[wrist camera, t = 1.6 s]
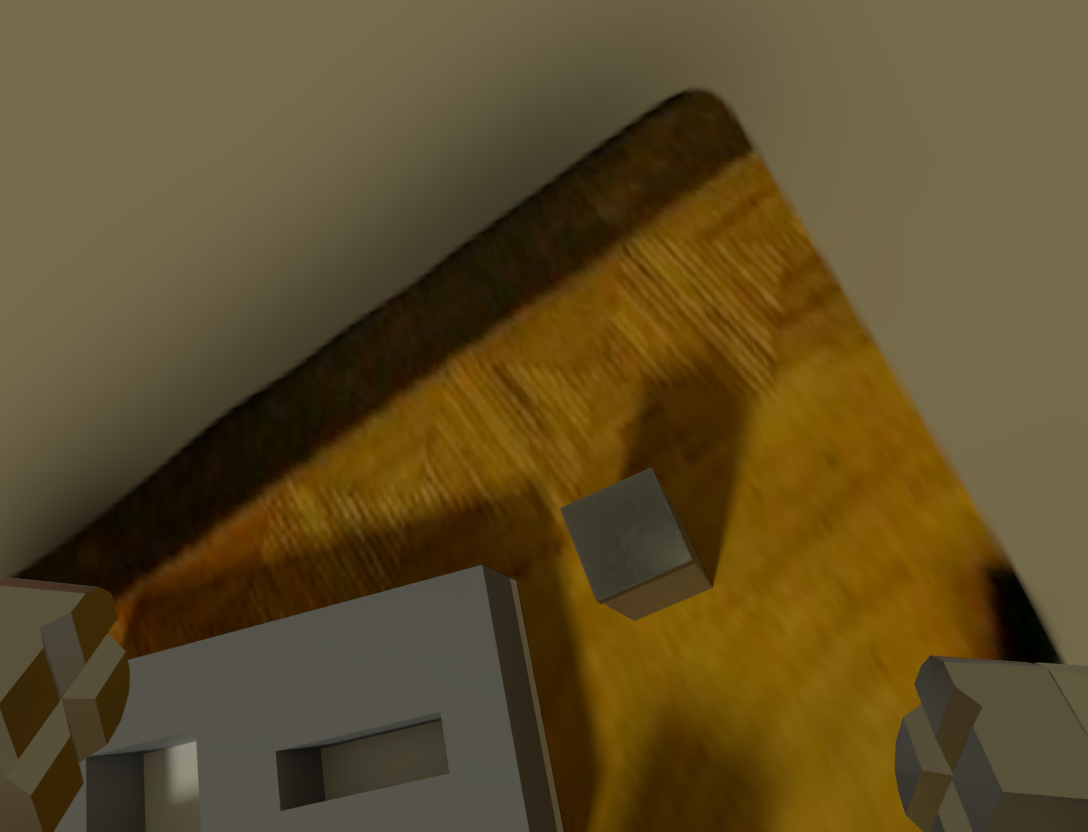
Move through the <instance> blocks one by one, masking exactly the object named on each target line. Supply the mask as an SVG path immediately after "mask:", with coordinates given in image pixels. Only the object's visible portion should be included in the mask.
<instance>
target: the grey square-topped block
mask: <svg viewBox="0 0 1088 832" xmlns="http://www.w3.org/2000/svg"><path fill="white" fill-rule="evenodd" d="M560 509H561V512H562V514H563V517H564V519H565V522H566V524H567V527H568V530H569V532H570V535H571V537H572V540H573V542H574V545H575V547H576V550H577V553H578V555H579V558H580V560H581V563H582V565H583V568H584V571H585V573H586V576H587V578H588V581H589V583H590V586H591V589H592V591H593V594H594V596H595V599H596V601H597V602H598V603H600V604H603V603H604V604H605V605H607V606H609V607H611V608H612V609H614V610H616V611H618V612H619V613H621V614H623V615H625V616H626V617H628V618H630V619H632V620H634V621H636V620H638V619H641V618H643V617H645V616H648V615H650V614H652V613H655V612H657V611H659V610H662V609H664V608H666V607H669V606H671V605H673V604H676V603H678V602H680V601H683V600H685V599H687V598H690V597H692V596H694V595H697V594H699V593H701V592H704V591H706V590H708V589H711V588H712V585H711V583H710V581H709V579H708V577H707V574H706V572H705V570H704V568H703V565H702V563H701V561H700V559H699V556H698V554H697V552H696V550H695V547H694V545H693V543H692V541H691V539H690V536H689V534H688V532H687V530H686V527H685V525H684V523H683V521H682V518H681V516H680V514H679V512H678V510H677V509H676V507H675V505H674V504H673V502H672V501H671V499H670V498H669V496H668V495H667V493H666V491H665V490H664V488H663V487H662V485H661V484H660V482H659V481H658V478H657V476H656V474H655V472H654V470H653V469H652V467H651V468H648V469H646V470H644V471H642V472H640V473H637V474H635V475H633V476H631V477H628V478H626V479H624V480H622V481H620V482H617V483H615V484H613V485H611V486H608V487H606V488H604V489H602V490H600V491H597V492H595V493H593V494H591V495H589V496H586V497H584V498H582V499H580V500H577V501H575V502H573V503H571V504H569V505H566V506H564V507H562V508H560Z"/></svg>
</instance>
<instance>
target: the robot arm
mask: <svg viewBox="0 0 1088 832" xmlns="http://www.w3.org/2000/svg"><path fill="white" fill-rule="evenodd" d="M117 619H118V617H117V614H116V610H115V607H114V603H113V600H112V597H111V593H110V592H108V591H105V590H103V589H101V588H99V587H91V586H82V585H72V584H63V583H54V582H44V581H35V580H25V579H16V578H7V577H4V578H0V832H54V831H55V829H56V827H57V826H58V824H59V823H60V821H61V819H62V818H63V816H64V814H65V813H66V811H67V810H68V808H69V806H70V805H71V803H72V801H73V800H74V798H75V797H76V795H77V793H78V792H79V790H80V788H81V787H82V785H83V784H84V781H83V775H82V770H81V765H80V762H81V761H83V760H84V759H86V758H88V757H89V756H91V755H92V754H94V753H95V752H97V751H98V750H100V749H101V748H103V747H105V746H106V745H107V744H108V742H109V741H110V739H111V737H112V735H113V734H114V732H115V730H116V728H117V727H118V725H119V723H120V722H121V719H122V716H123V712H124V709H125V705H126V702H127V698H128V695H129V688H130V668H129V663H128V659H127V654H126V651H125V650H124V649H123V648H122V647H121V646H120V645H119V644H118V643H117V642H115V641H114V640H113V639H112V638H111V637H110V636H109V635H108V634H107V633H108V632H109V630H110V629H111V627H112V626H113V624H114V623H115V621H116V620H117ZM915 687H916V690H917V692H918V695H919V697H920V700H921V702H922V704H921V705H920V706H918V707H917V708H915V709H914V710H913V711H911V712H910V713H908V714H907V715H905V716H904V717H903V719H902V723H901V726H900V730H899V733H898V736H897V740H896V753H895V773H896V779H897V785H898V791H899V795H900V798H901V801H902V804H903V807H904V811H905V814H906V816H907V817H908V818H909V819H911V820H912V821H913V822H914V823H915V824H916V825H917V826H918V827H919V828H920V829H921V830H922V831H923V832H1088V666H1079V665H1064V664H1049V663H1035V664H1031V663H1025V662H1012V661H998V660H985V659H971V658H958V657H944V656H930V657H929V658H928V659H927V660H926V661H925V662H924V663H923V664H922V666H921V668H920V671H919V674H918V676H917V679H916V682H915Z"/></svg>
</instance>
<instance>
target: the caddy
mask: <svg viewBox="0 0 1088 832" xmlns="http://www.w3.org/2000/svg"><path fill="white" fill-rule="evenodd" d="M128 663H129V668H130V688H129V695H128V698H127V702H126V705H125V709H124V712H123V716H122V719H121V722H120V723H119V725H118V727H117V728H116V730H115V732H114V734H113V735H112V737H111V739H110V741H109V742H108V744H107V745H106V746H105V747H103V748H101V749H100V750H98V751H97V752H95V753H94V754H92V755H91V756H89V757H88V758H86V759H84V760H83V761H81V762H80V765H81V770H82V775H83V781H84V784H83V785H82V787H81V788H80V790H79V792H78V793H77V795H76V797H75V798H74V800H73V801H72V803H71V805H70V806H69V808H68V810H67V811H66V813H65V814H64V816H63V818H62V819H61V821H60V823H59V824H58V826H57V827H56V829H55V831H54V832H564V831H563V826H562V820H561V815H560V810H559V805H558V799H557V794H556V789H555V783H554V778H553V773H552V768H551V762H550V757H549V752H548V747H547V741H546V736H545V731H544V725H543V720H542V715H541V710H540V704H539V699H538V694H537V689H536V683H535V678H534V673H533V667H532V662H531V657H530V652H529V646H528V641H527V636H526V631H525V625H524V620H523V615H522V610H521V604H520V599H519V594H518V588H517V583H516V581H515V580H513V579H511V578H509V577H507V576H505V575H503V574H500V573H498V572H496V571H494V570H492V569H490V568H488V567H486V566H484V565H480V566H476V567H472V568H469V569H465V570H461V571H457V572H454V573H450V574H446V575H442V576H439V577H435V578H431V579H428V580H424V581H420V582H416V583H413V584H409V585H405V586H402V587H398V588H394V589H390V590H387V591H383V592H379V593H375V594H372V595H368V596H364V597H361V598H357V599H353V600H349V601H346V602H342V603H338V604H335V605H331V606H327V607H323V608H320V609H316V610H312V611H309V612H305V613H301V614H297V615H294V616H290V617H286V618H282V619H279V620H275V621H271V622H268V623H264V624H260V625H256V626H253V627H249V628H245V629H242V630H238V631H234V632H230V633H227V634H223V635H219V636H215V637H212V638H208V639H204V640H201V641H197V642H193V643H189V644H186V645H182V646H178V647H175V648H171V649H167V650H163V651H160V652H156V653H152V654H148V655H145V656H141V657H137V658H134V659H130V660H128Z"/></svg>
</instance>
